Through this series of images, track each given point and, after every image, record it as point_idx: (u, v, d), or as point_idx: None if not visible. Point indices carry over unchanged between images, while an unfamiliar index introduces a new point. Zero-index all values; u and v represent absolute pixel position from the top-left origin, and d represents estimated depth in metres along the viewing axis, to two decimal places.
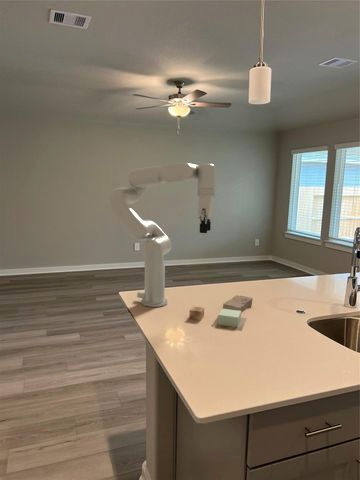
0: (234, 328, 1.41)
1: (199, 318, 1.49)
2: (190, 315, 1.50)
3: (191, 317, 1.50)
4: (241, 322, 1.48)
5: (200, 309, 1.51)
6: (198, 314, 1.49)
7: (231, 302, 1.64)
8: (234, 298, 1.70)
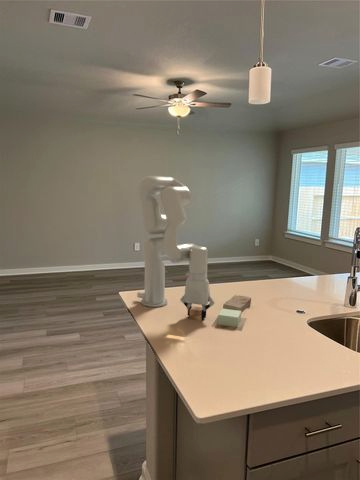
0: (234, 328, 1.41)
1: (199, 318, 1.49)
2: (190, 315, 1.50)
3: (191, 317, 1.50)
4: (241, 322, 1.48)
5: (200, 309, 1.51)
6: (198, 313, 1.49)
7: (231, 302, 1.64)
8: (233, 298, 1.70)
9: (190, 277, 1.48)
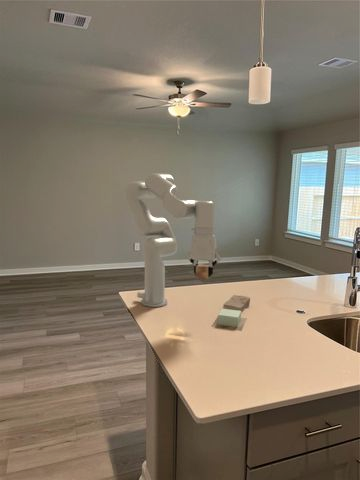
0: (234, 328, 1.41)
1: (206, 274, 1.46)
2: (196, 272, 1.47)
3: (198, 273, 1.47)
4: (241, 322, 1.48)
5: (207, 266, 1.47)
6: (205, 270, 1.45)
7: (231, 302, 1.64)
8: (232, 298, 1.70)
9: (196, 232, 1.44)
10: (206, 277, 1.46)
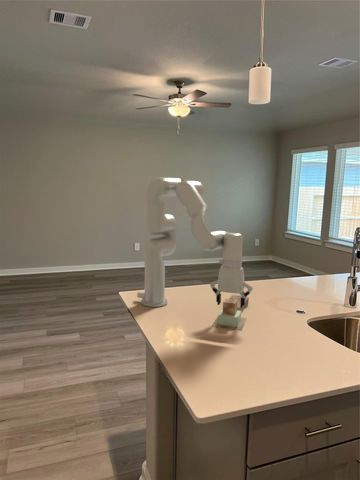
0: (234, 328, 1.41)
1: (233, 310, 1.44)
2: (223, 308, 1.45)
3: (225, 309, 1.45)
4: (241, 322, 1.48)
5: (234, 301, 1.46)
6: (232, 306, 1.44)
7: None
8: (231, 298, 1.70)
9: (224, 265, 1.42)
10: (233, 313, 1.44)
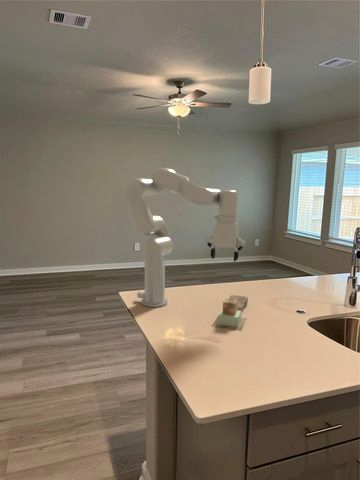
0: (234, 328, 1.41)
1: (233, 310, 1.44)
2: (223, 308, 1.45)
3: (225, 309, 1.45)
4: (241, 322, 1.48)
5: (234, 301, 1.46)
6: (232, 306, 1.44)
7: None
8: (231, 298, 1.70)
9: (219, 219, 1.50)
10: (233, 313, 1.44)
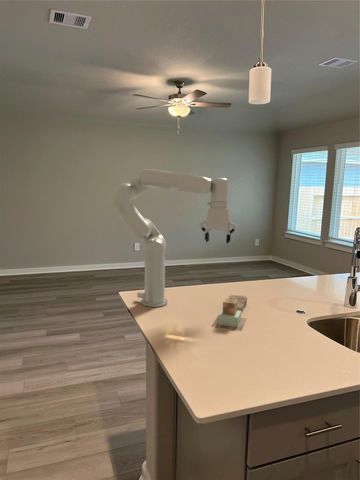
0: (234, 328, 1.41)
1: (233, 310, 1.44)
2: (223, 308, 1.45)
3: (225, 309, 1.45)
4: (241, 322, 1.48)
5: (234, 301, 1.46)
6: (232, 306, 1.44)
7: None
8: (230, 298, 1.70)
9: (212, 205, 1.63)
10: (233, 313, 1.44)
